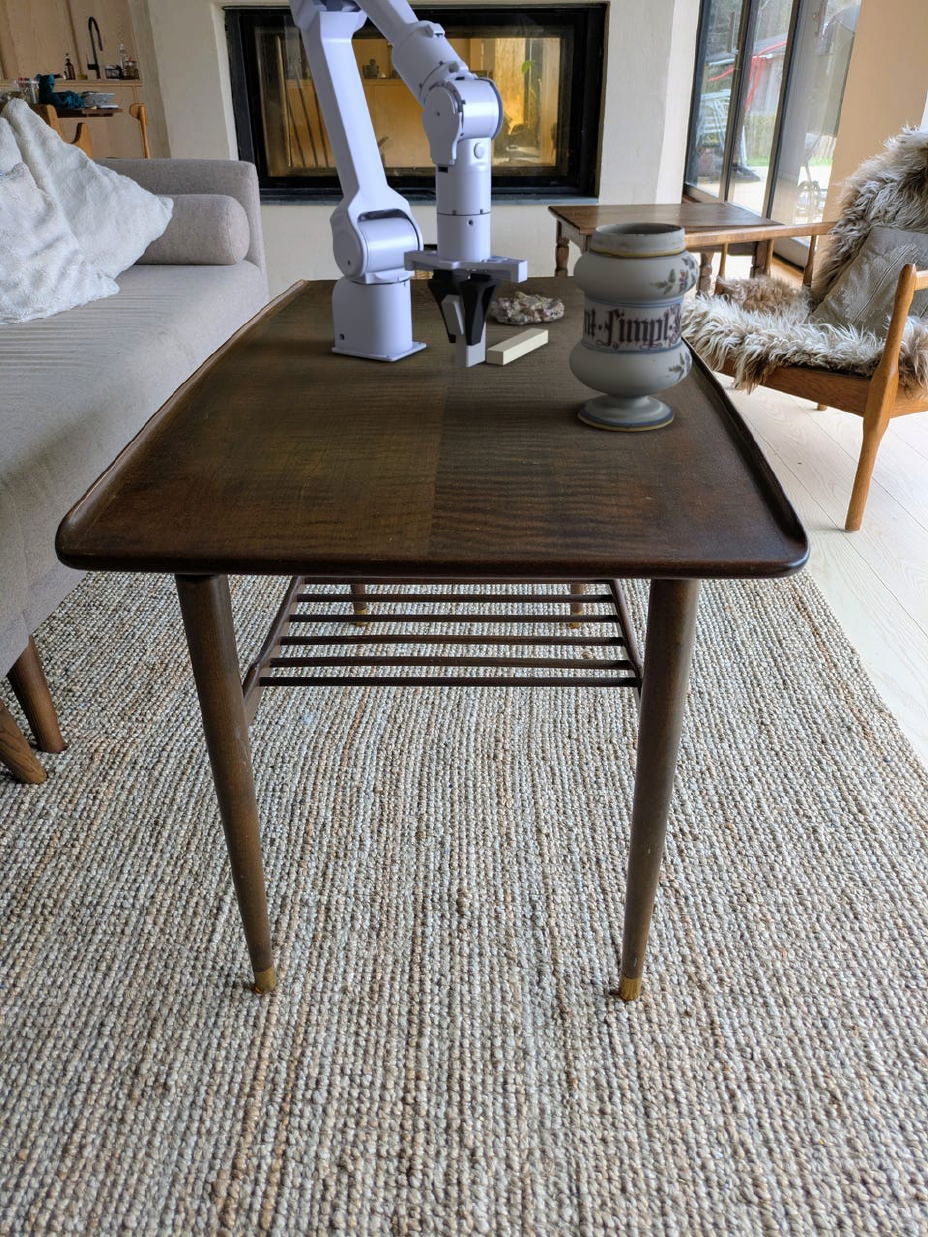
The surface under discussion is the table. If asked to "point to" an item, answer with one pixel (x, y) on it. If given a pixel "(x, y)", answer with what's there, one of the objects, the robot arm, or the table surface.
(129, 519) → the table surface
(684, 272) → the apothecary jar
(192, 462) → the table surface
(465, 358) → the lighter
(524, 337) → the strip
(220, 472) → the table surface
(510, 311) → the mineral rock
